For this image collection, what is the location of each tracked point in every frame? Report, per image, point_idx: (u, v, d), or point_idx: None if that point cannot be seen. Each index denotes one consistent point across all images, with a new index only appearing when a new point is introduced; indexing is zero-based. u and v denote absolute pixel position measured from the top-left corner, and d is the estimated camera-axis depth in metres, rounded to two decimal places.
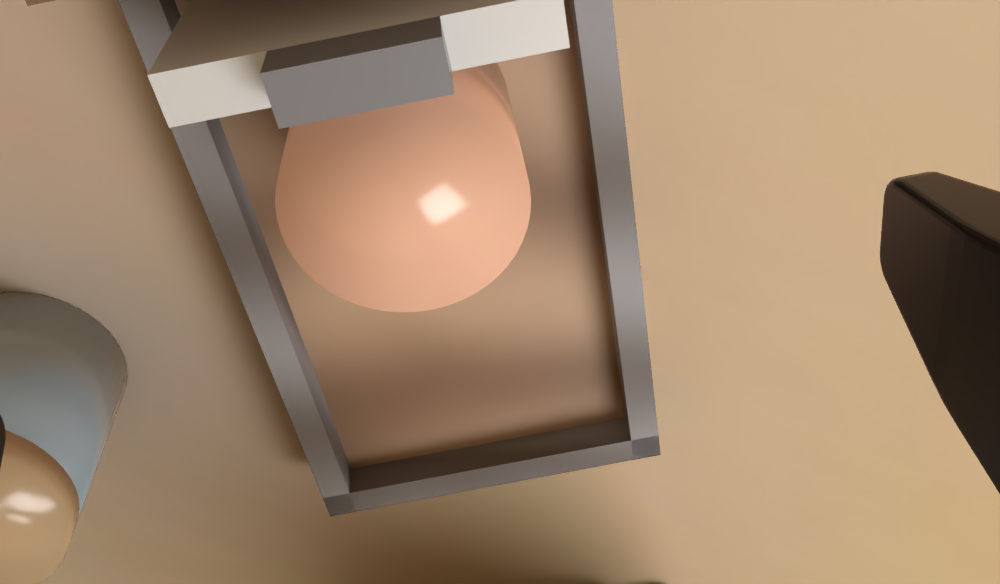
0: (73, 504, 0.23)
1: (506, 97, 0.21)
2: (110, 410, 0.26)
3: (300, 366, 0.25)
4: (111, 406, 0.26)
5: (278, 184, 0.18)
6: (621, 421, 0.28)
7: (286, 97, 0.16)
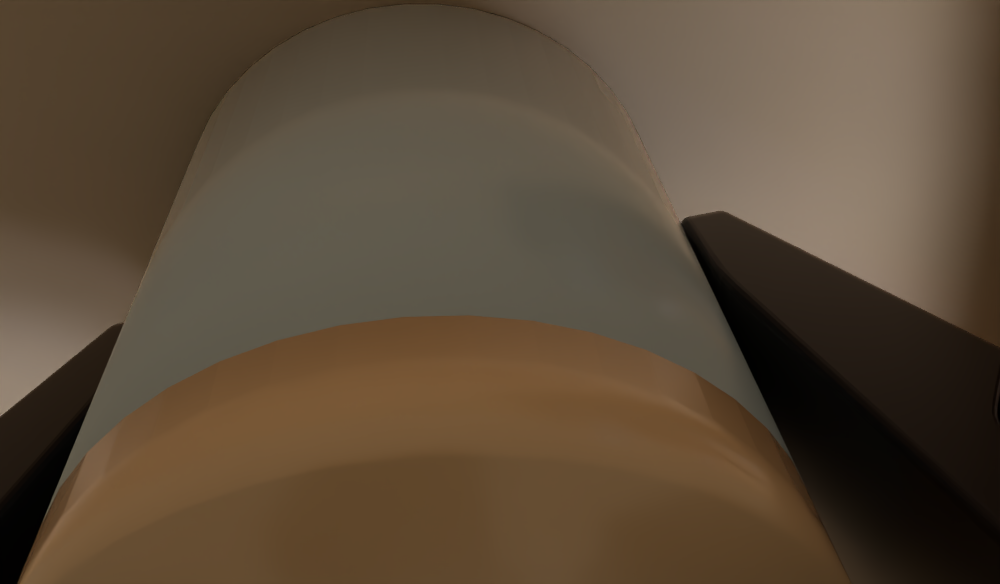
0: None
1: None
2: None
3: None
4: None
5: None
6: None
7: None
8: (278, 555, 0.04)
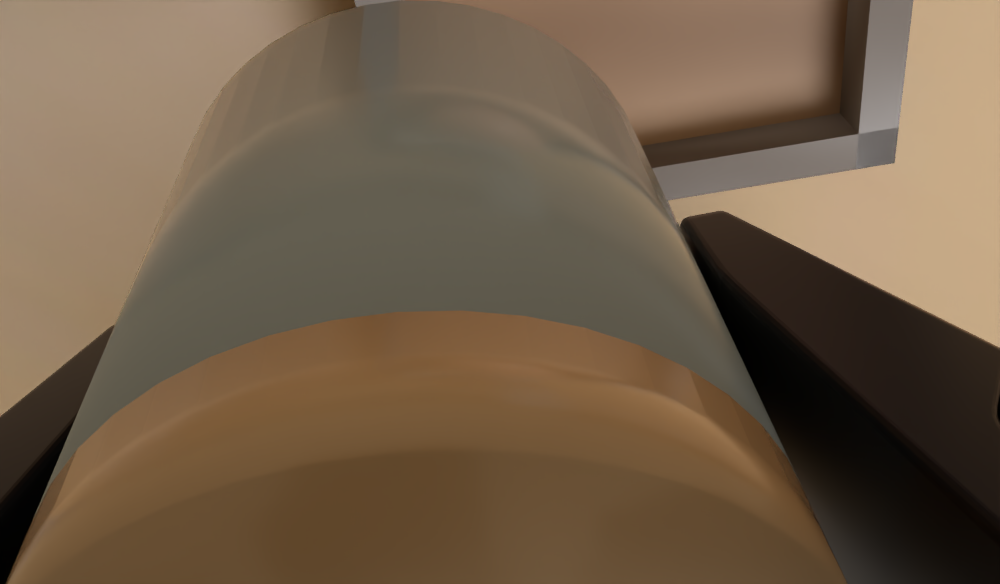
0: None
1: None
2: None
3: None
4: None
5: None
6: (835, 116, 0.20)
7: None
8: (267, 551, 0.04)
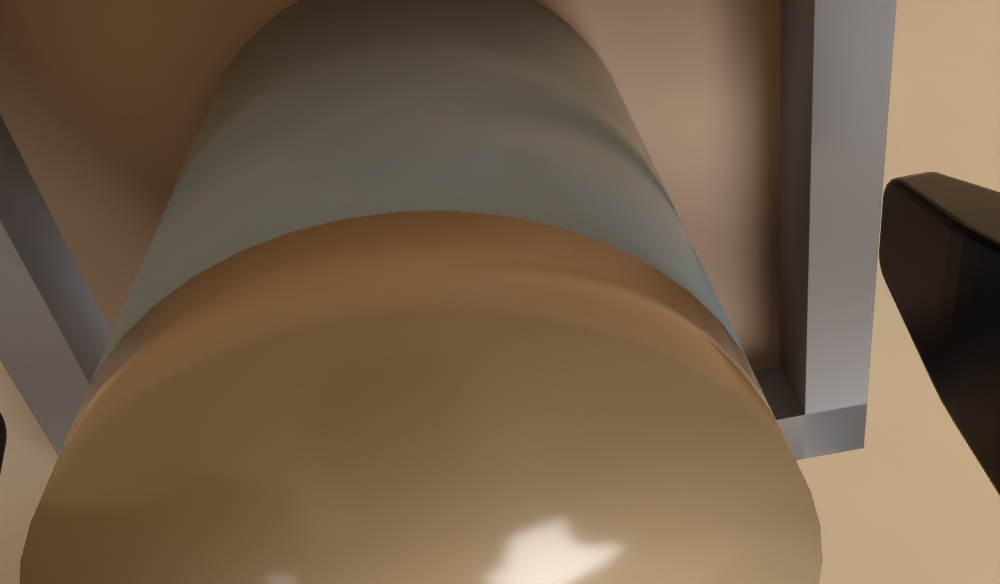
0: None
1: None
2: None
3: None
4: None
5: None
6: (773, 374, 0.13)
7: None
8: (291, 402, 0.05)
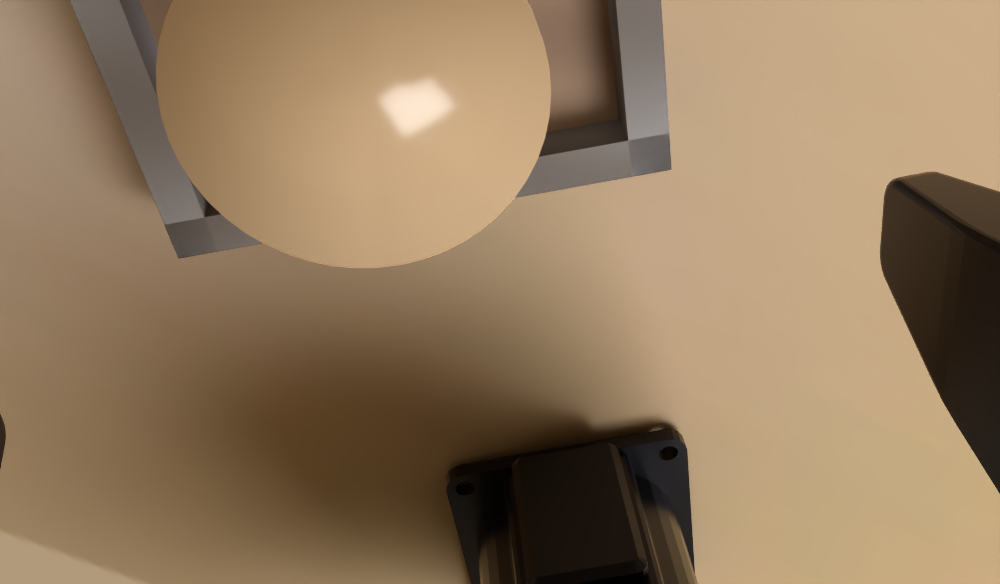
0: None
1: None
2: None
3: None
4: None
5: None
6: (613, 123, 0.19)
7: None
8: None
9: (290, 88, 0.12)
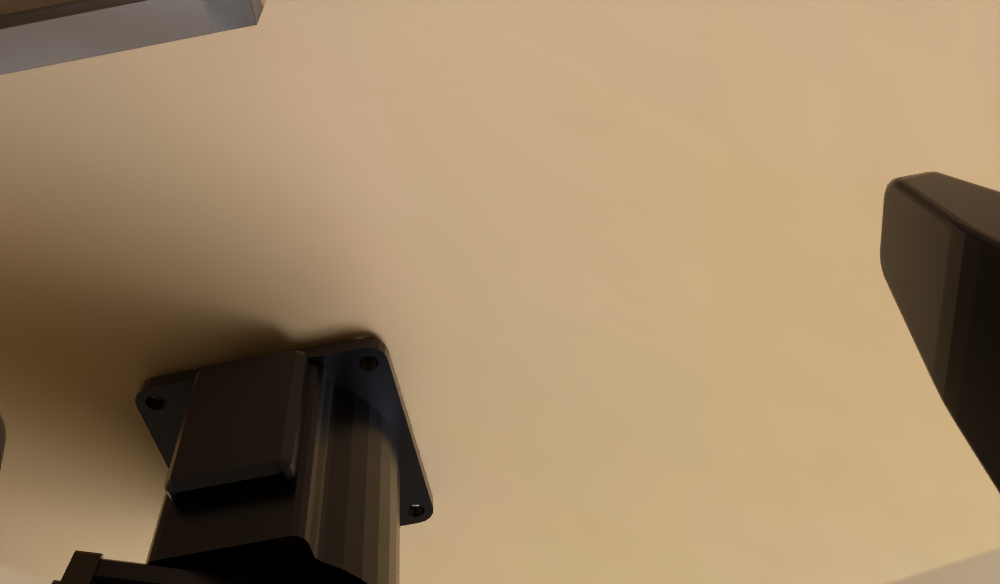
0: None
1: None
2: None
3: None
4: None
5: None
6: None
7: None
8: None
9: None
